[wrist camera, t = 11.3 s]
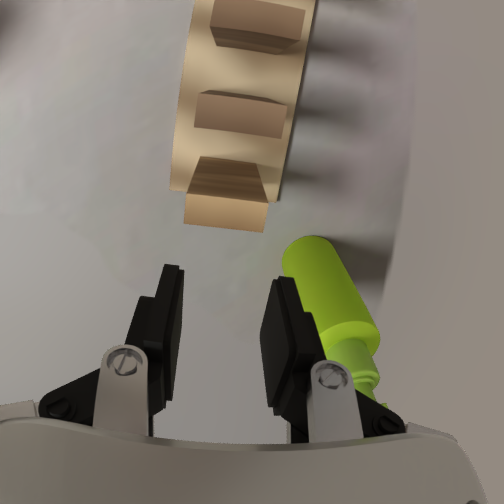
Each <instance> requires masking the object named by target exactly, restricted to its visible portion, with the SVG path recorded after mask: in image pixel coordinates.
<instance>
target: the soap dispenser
mask: <svg viewBox="0 0 504 504" xmlns="http://www.w3.org/2000/svg"><path fill="white" fill-rule="evenodd" d="M282 268H283V271H284V275H285V277H293V278H294V280H295V283H296V286H297V289H298V293H299V296H300V299H301V303H302V306H303V309H304V312H311V313H312V315H313V317H314V320H315V324H316V327H317V330H318V333H319V336H320V339H321V342H322V346H323V349H324V352H325V355H326V358H327V360H332V361H336V362H338V363H341V364H342V365H344V366H345V367H346V368H347V369H348V370H349V371H350V372H351V375H352V378H353V382H354V387H355V389H356V390H358V391H360V392H361V393H363V394H364V395H366V396H368V397H369V398H371V399H373V400H374V401H376V399H375V397H374V394H373V391H372V390H373V389H374V388H375V387H376V386H377V385H378V383H379V380H380V376H379V373H378V370H377V368H376V366H375V363H374V361H373V359H372V356H373V355H374V354H375V352H376V351H377V349H378V346H379V343H380V334H379V331H378V329H377V327H376V325H375V323H374V321H373V319H372V317H371V315H370V313H369V312H368V310H367V308H366V306H365V304H364V302H363V300H362V298H361V296H360V294H359V293H358V291H357V289H356V287H355V285H354V283H353V281H352V280H351V278H350V276H349V274H348V272H347V270H346V269H345V267H344V265H343V263H342V261H341V260H340V258H339V256H338V254H337V253H336V251H335V249H334V247H333V246H332V244H331V243H330V242H329V241H328V240H326V239H324V238H322V237H319V236H306V237H302V238H300V239H298V240H296V241H294V242H293V243H292V244H291V245H290V246H289V247H288V248H287V249H286V251H285V252H284V255H283V258H282ZM376 402H377V401H376ZM381 405H382V406H384V407H386V408H387V409H388V407H387V405H386V403H382V404H381Z"/></svg>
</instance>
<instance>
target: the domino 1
mask: <svg viewBox="0 0 504 504" xmlns="http://www.w3.org/2000/svg"><path fill="white" fill-rule="evenodd" d="M305 12H306V10H303V9H299V8H295V7H290V6H285V5H280V4H275V3H270V2H264V1H258V0H215V1H214V5H213V10H212V15H211V21H210V29H211V32H212V35H213V38H214V41H215V43H216V46H220V47H228V48H236V49H243V50H250V51H256V52H262V53H268V54H274V55H276V54H278V53H279V52H281V51H283V50H285V49H286V48H288V47H290V46H291V45H293V44H295V43H297V42H299V41H300V39H301V33H302V28H303V22H304V17H305Z"/></svg>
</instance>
